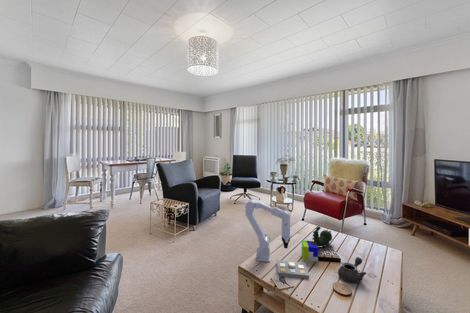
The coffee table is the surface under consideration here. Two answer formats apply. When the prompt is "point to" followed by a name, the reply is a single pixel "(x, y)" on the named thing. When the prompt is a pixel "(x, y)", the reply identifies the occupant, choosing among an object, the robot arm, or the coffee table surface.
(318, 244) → the green cactus plant
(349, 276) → the teapot
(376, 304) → the coffee table surface
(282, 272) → the button board
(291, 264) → the button middle
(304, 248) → the puzzle toy
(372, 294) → the coffee table surface
